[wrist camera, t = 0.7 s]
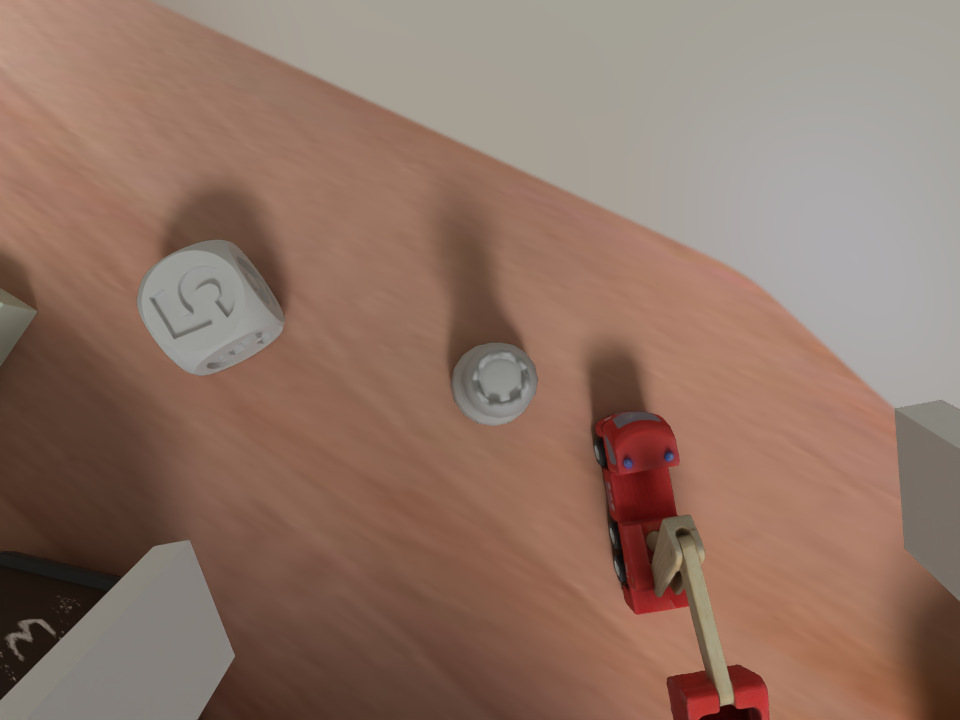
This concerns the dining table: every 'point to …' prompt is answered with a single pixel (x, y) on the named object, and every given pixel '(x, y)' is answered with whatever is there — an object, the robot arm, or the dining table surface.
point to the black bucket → (41, 608)
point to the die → (209, 307)
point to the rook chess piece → (494, 383)
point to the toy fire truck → (668, 563)
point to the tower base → (12, 322)
